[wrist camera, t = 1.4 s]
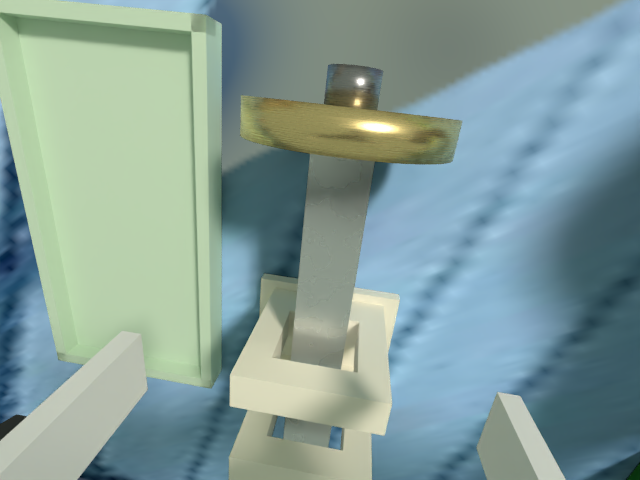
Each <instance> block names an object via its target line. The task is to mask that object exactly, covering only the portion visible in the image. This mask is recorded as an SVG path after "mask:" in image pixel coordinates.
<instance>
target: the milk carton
mask: <svg viewBox="0 0 640 480" xmlns="http://www.w3.org/2000/svg"><path fill="white" fill-rule="evenodd" d="M627 480H640V463H639V464H638V466H637V467H636V468H635V469H634V471H633V472H632V473H631V475H630V476H629V477H628V478H627Z"/></svg>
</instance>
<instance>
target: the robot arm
mask: <svg viewBox="0 0 640 480" xmlns="http://www.w3.org/2000/svg"><path fill="white" fill-rule="evenodd" d="M147 390H148V388H147V379H146V371H145V362H144V354H143V346H142V337H141V334H139V333H133V332H127V331H121V332H120V333H119V334H118V335H117V336H116V337H115V338H114V339H112V340H111V341H110V342H109V343H108V344H107V345H106V346H105V347H104V348H102V349H101V350H100V351H99V352H98V353H97V354H96V355H95V356H94V357H92V358H91V359H90V360H89V361H88V362H87V363H86V364H85V365H84V366H83V367H81V368H80V369H79V370H78V371H77V372H76V373H75V374H74V375H73V376H71V377H70V378H69V379H68V380H67V381H66V382H65V383H64V384H63V385H61V386H60V387H59V388H58V389H57V390H56V391H55V392H54V393H53V394H52V395H50V396H49V397H48V398H47V399H46V400H45V401H44V402H43V403H42V404H40V405H39V406H38V407H37V408H36V409H35V410H34V411H33V412H32V413H30V414H29V415H28V416H21V415H15V416H13V417H11V418H10V419H8V420H6V421H5V422H3V423H1V424H0V480H77V479H78V478H79V477H80V475H81V474H82V473H83V472H84V470H85V469H86V468H87V467H88V465H89V464H90V463H91V461H92V460H93V459H94V458H95V456H96V455H97V454H98V452H99V451H100V450H101V449H102V447H103V446H104V445H105V443H106V442H107V441H108V440H109V438H110V437H111V436H112V435H113V433H114V432H115V431H116V429H117V428H118V427H119V426H120V424H121V423H122V422H123V420H124V419H125V418H126V417H127V415H128V414H129V413H130V411H131V410H132V409H133V408H134V406H135V405H136V404H137V403H138V401H139V400H140V399H141V397H142V396H143V395H144V394H145V392H146V391H147ZM477 451H478V454H479V457H480V460H481V463H482V466H483V469H484V472H485V475H486V478H487V480H566V479H565V477H564V476H563V474H562V472H561V470H560V468H559V466H558V465H557V463H556V461H555V459H554V457H553V455H552V454H551V452H550V450H549V448H548V446H547V444H546V443H545V441H544V439H543V437H542V435H541V433H540V432H539V430H538V428H537V426H536V424H535V422H534V421H533V419H532V417H531V415H530V413H529V411H528V410H527V408H526V406H525V404H524V402H523V400H522V399H521V397H520V396H517V395H511V394H505V393H499V392H497V394H496V397H495V400H494V402H493V405H492V408H491V410H490V413H489V416H488V418H487V421H486V424H485V426H484V429H483V432H482V434H481V437H480V440H479V442H478V445H477Z"/></svg>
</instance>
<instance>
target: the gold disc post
mask: <svg viewBox="0 0 640 480" xmlns="http://www.w3.org/2000/svg"><path fill="white" fill-rule="evenodd" d="M382 76H383V71H382V70H379V69H376V68H370V67H365V66H357V65H346V64H331V65H328V71H327V80H326V90H325V99H324V104H316V103H307V102H298V101H289V100H279V99H271V98H262V97H252V96H241V129H240V133H241V134H240V136H241V137H242V138H244V139H246V140H249V141H252V142H256V143H259V144H262V145H267V146H271V147H276V148H281V149H286V150H291V151H297V152H303V153H309V154H310V160H309V171H308V181H307V192H306V203H305V213H304V224H303V234H302V245H301V256H300V266H299V277H298V288H297V298H296V309H295V320H294V330H293V341H292V352H291V361H294V362H300V363H306V364H311V365H317V366H323V367H328V368H334V369H340V370H341V366H342V359H343V353H344V347H345V341H346V335H347V329H348V323H349V317H350V311H351V305H352V298H353V292H354V286H355V280H356V274H357V268H358V262H359V256H360V250H361V244H362V237H363V231H364V225H365V219H366V213H367V207H368V201H369V195H370V189H371V183H372V177H373V170H374V164H375V162H386V163H401V164H444V163H450V162H452V161H453V158H454V154H455V150H456V146H457V141H458V137H459V133H460V129H461V125H462V121H460V120H453V119H445V118H436V117H428V116H420V115H411V114H403V113H394V112H386V111H377V107H378V102H379V94H380V88H381V83H382ZM330 433H331V425H325V424H320V423H315V422H310V421H304V420H299V419H294V418H289V417H285V426H284V437H283V439H286V440H291V441H296V442H301V443H306V444H311V445H316V446H321V447H326V448H328V445H329V439H330Z"/></svg>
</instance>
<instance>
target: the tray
mask: <svg viewBox="0 0 640 480" xmlns="http://www.w3.org/2000/svg"><path fill="white" fill-rule="evenodd" d="M221 27H222V25H221V24H220V23H219V22H217V21H215V20H214V19H212V18H210V17H209V16H207V15H203V14H193V13H182V12H172V11H162V10H151V9H141V8H130V7H120V6H109V5H99V4H88V3H78V2H67V1H57V0H0V98H1V102H2V107H3V112H4V116H5V121H6V125H7V130H8V134H9V139H10V143H11V148H12V152H13V157H14V161H15V166H16V170H17V175H18V179H19V184H20V188H21V193H22V197H23V202H24V206H25V211H26V215H27V220H28V224H29V229H30V233H31V238H32V242H33V247H34V252H35V256H36V261H37V265H38V270H39V274H40V279H41V283H42V288H43V292H44V297H45V301H46V306H47V310H48V315H49V319H50V324H51V328H52V333H53V337H54V342H55V346H56V351H57V355H58V360H61V361H66V362H72V363H77V364H82V365H85V364H86V363H87V362H88V361H89V360H90V359H91V358H92V357H94V356H95V355H96V354H97V353H98V352H99V351H100V350H101V349H102V348H104V347H105V346H106V345H107V344H108V343H109V342H110V341H111V340H112V339H114V338H115V337H116V336H117V335H118V334H119V333H120V332H121V331H127V332H133V333H139V334H141V337H142V346H143V354H144V362H145V371H146V376H147V377H152V378H157V379H163V380H168V381H173V382H179V383H184V384H189V385H195V386H200V387H205V388H212V386H213V385H214V383H215V381H216V379H217V378H218V376H219V374H220V372H221V370H222V165H221V164H222V163H221V160H222V157H221V156H222V151H221V150H222V147H221V146H222V141H221V133H222V131H221V130H222V128H221V127H222V126H221V125H222V120H221V118H222V115H221V114H222V111H221V110H222V108H221V107H222V106H221V105H222V98H221V97H222V92H221V91H222V90H221V89H222V87H221V86H222V85H221V83H222V81H221V79H222V78H221V77H222V76H221V75H222V67H221V66H222V63H221V61H222V60H221V57H222V54H221V53H222V51H221V49H222V46H221V45H222V36H221V35H222V34H221V33H222V31H221V29H222V28H221Z"/></svg>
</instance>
